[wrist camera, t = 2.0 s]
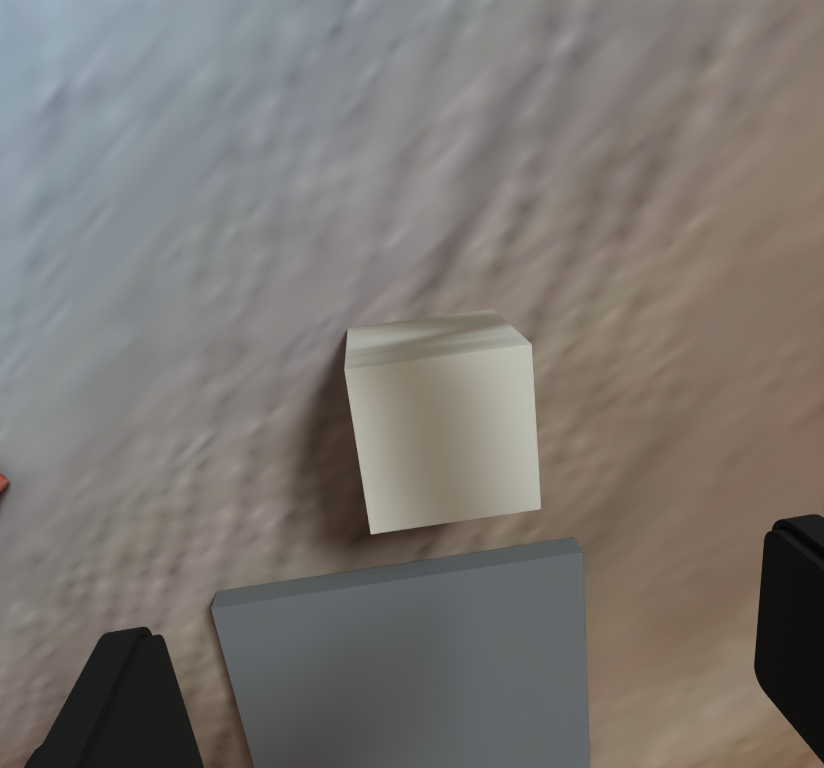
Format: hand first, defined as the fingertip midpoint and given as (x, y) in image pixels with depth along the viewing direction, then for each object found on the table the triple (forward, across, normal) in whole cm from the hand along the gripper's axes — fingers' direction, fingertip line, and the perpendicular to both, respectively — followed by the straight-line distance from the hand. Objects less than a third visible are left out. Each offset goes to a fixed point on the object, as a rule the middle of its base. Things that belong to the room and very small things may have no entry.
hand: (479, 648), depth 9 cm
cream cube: (+13, -1, 0) cm, 13 cm away
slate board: (+13, +1, +14) cm, 19 cm away
